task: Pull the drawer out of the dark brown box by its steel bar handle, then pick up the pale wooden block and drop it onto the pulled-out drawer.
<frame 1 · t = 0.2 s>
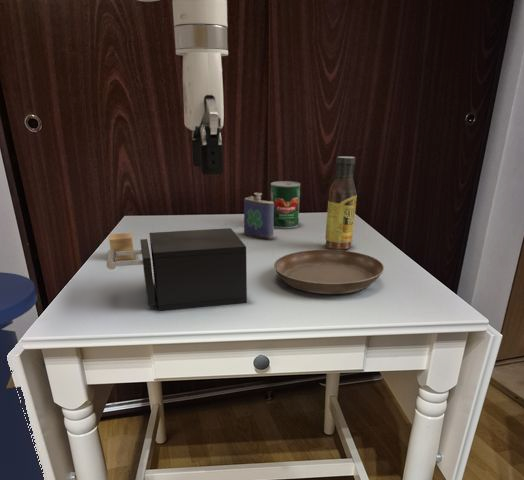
hand: (207, 169, 77), 21 cm above the table, tool pointing down, fingers open, 9 cm apart
block: (123, 256, 106), on the table
sauce bottle: (338, 248, 114), on the table
plant saucer: (327, 281, 93), on the table
flask: (258, 237, 122), on the table
canned tomato: (284, 225, 133), on the table
drawer: (167, 269, 83), point 5 cm above the table, slide at 0.5 cm
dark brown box: (198, 293, 87), on the table
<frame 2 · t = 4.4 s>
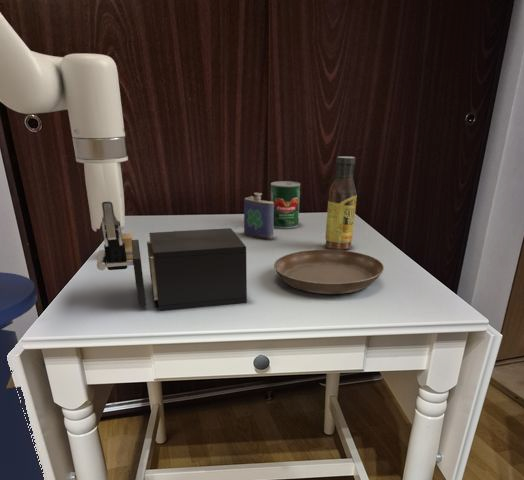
hand: (117, 267, 81), 6 cm above the table, tool pointing down, fingers closed
drawer: (158, 269, 83), point 5 cm above the table, slide at 2.0 cm
everything else where it was.
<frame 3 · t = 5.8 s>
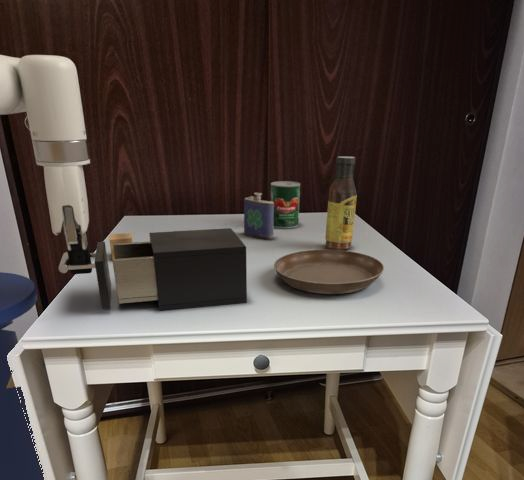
hand: (82, 272, 80), 5 cm above the table, tool pointing down, fingers closed
drawer: (124, 272, 82), point 5 cm above the table, slide at 7.7 cm, touching gripper
everything else where it was.
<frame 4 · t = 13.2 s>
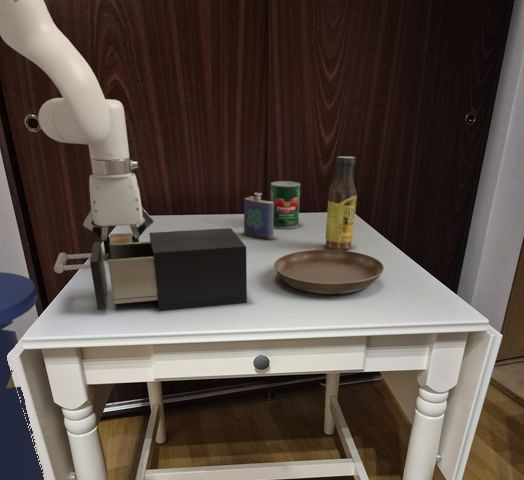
hand: (123, 255, 106), 0 cm above the table, tool pointing down, fingers closed on block, 4 cm apart
block: (123, 256, 106), on the table, touching gripper
drawer: (120, 272, 81), point 5 cm above the table, slide at 8.4 cm
everything else where it was.
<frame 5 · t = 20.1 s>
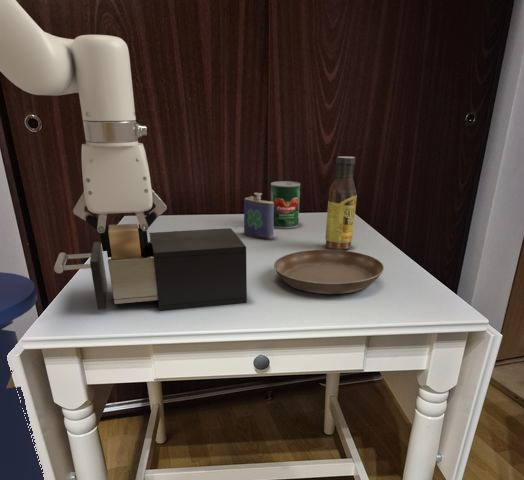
hand: (126, 252, 80), 8 cm above the table, tool pointing down, fingers closed on block, 4 cm apart
block: (126, 255, 80), point 8 cm above the table, touching gripper
everything else where it was.
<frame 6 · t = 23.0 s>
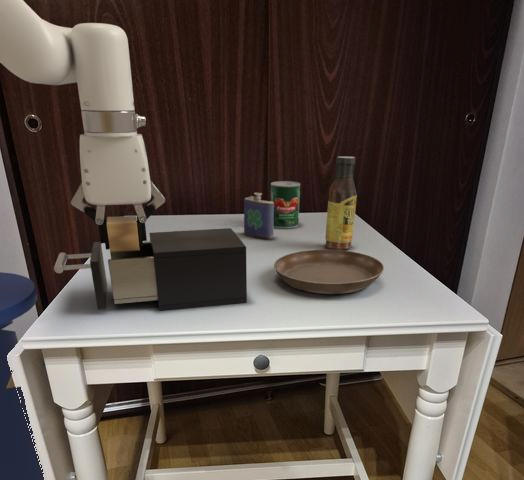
hand: (124, 245, 80), 10 cm above the table, tool pointing down, fingers closed on block, 4 cm apart
block: (124, 247, 80), point 9 cm above the table, touching gripper
everything else where it was.
when the fingers open (11 cm above the table, at t = 33.1 s): block drops 9 cm, resting on drawer.
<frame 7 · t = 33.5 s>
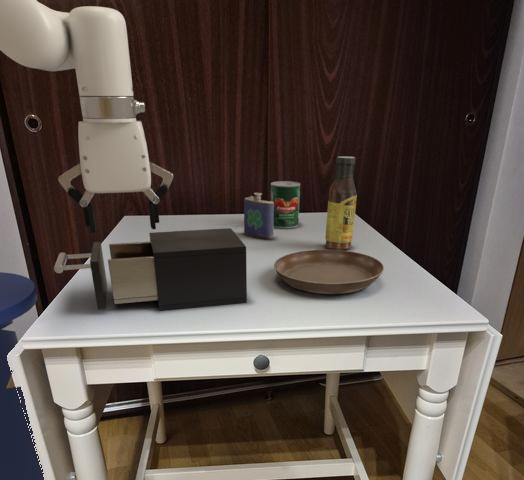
hand: (123, 229, 78), 12 cm above the table, tool pointing down, fingers open, 9 cm apart
block: (131, 287, 83), point 2 cm above the table, touching drawer
drawer: (120, 272, 81), point 5 cm above the table, slide at 8.4 cm, touching block
everything else where it was.
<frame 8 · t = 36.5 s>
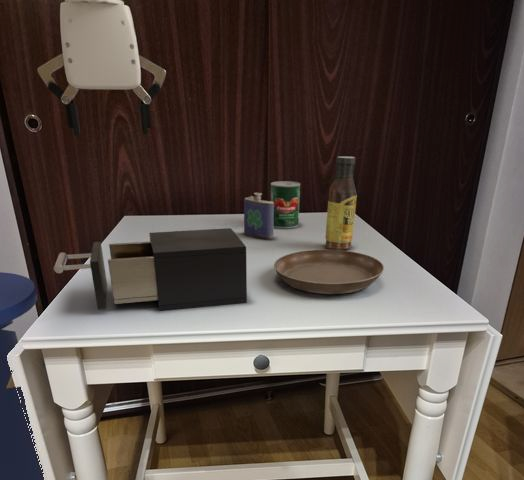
hand: (111, 134, 72), 26 cm above the table, tool pointing down, fingers open, 9 cm apart
nothing on the table moved.
at the end: drawer slide at 8.4 cm; block inside the target area in the drawer (1.5 cm from its centre), point 2.1 cm above the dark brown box's base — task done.
